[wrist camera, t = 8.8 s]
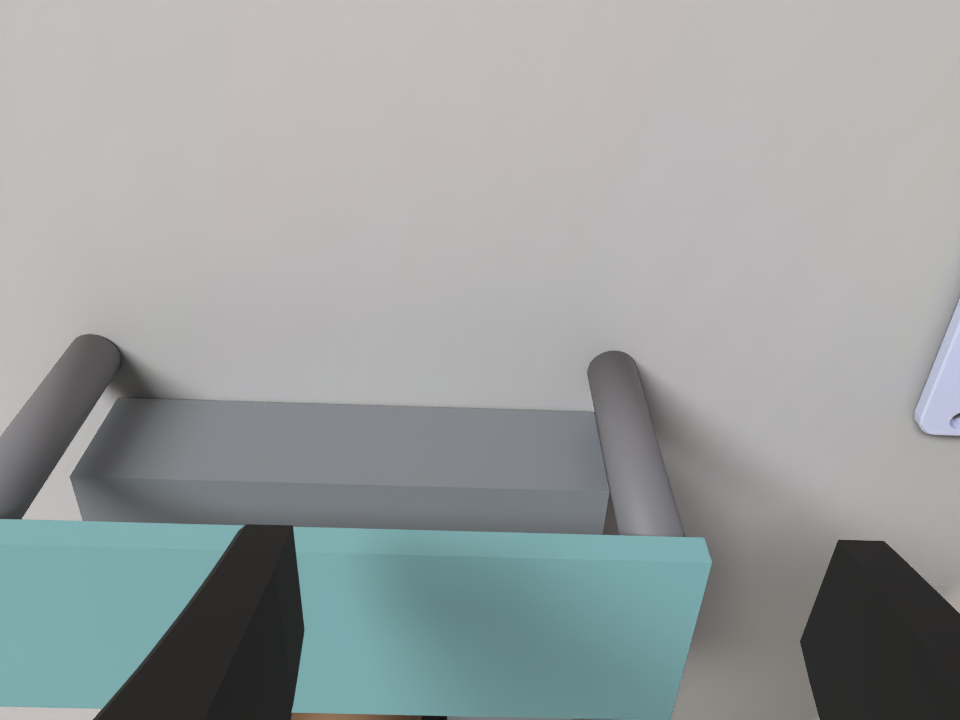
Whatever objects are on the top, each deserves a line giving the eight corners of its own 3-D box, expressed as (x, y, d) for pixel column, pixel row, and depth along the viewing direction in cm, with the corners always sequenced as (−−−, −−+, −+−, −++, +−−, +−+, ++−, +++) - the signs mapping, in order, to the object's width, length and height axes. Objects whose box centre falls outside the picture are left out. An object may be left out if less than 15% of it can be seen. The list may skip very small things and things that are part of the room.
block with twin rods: (644, 346, 20) (712, 562, 15) (620, 487, 23) (669, 720, 17) (59, 328, 20) (-114, 541, 14) (98, 472, 22) (-36, 706, 17)
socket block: (594, 411, 21) (609, 491, 19) (553, 702, 28) (561, 790, 25) (118, 397, 21) (69, 476, 19) (189, 694, 28) (160, 782, 25)
